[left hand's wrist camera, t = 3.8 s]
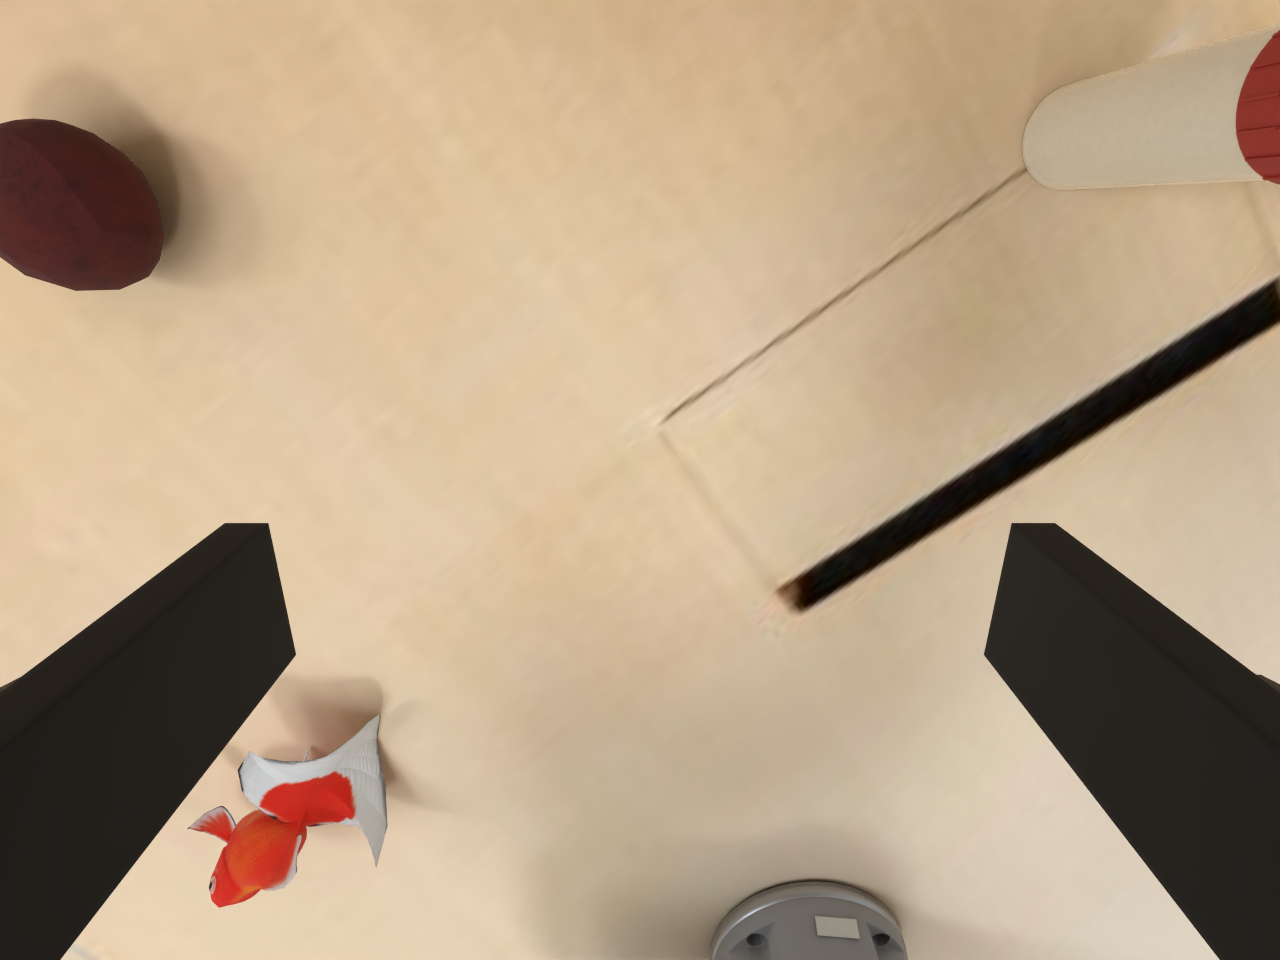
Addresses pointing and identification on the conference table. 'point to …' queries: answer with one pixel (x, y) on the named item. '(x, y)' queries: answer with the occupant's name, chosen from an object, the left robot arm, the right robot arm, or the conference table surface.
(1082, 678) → the left robot arm
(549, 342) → the conference table surface
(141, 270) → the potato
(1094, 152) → the jar
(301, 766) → the fish
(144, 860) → the conference table surface
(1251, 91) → the lid
